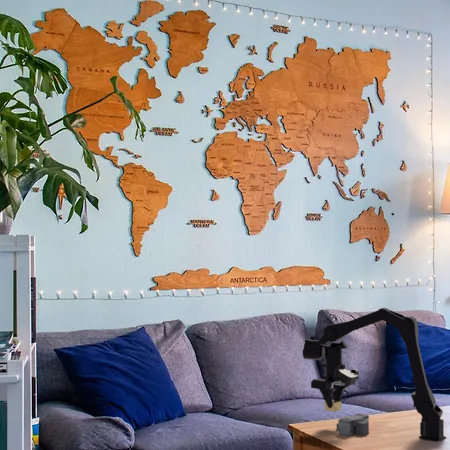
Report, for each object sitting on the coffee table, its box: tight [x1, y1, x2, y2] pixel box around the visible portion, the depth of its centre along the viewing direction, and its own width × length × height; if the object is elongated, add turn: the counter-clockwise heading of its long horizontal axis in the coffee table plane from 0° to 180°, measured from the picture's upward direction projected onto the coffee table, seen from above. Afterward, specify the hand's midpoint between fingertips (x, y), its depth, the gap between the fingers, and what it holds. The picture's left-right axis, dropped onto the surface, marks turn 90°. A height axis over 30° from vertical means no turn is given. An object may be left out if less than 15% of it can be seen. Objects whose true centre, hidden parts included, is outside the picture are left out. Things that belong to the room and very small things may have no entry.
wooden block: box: [323, 399, 342, 413], centre depth 249 cm, size 5×4×3 cm
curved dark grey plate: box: [337, 413, 370, 437], centre depth 242 cm, size 4×12×5 cm, turn 137°
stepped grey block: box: [336, 421, 370, 436], centre depth 243 cm, size 11×3×4 cm, turn 47°
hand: (333, 406), depth 248 cm, fingers closed on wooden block, 4 cm apart
